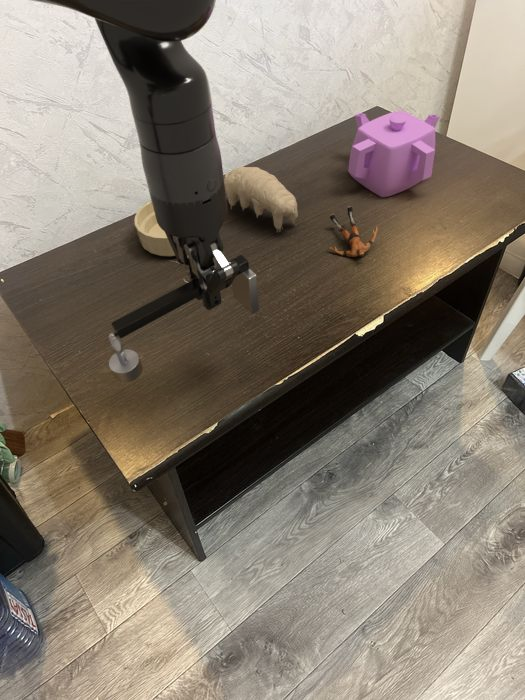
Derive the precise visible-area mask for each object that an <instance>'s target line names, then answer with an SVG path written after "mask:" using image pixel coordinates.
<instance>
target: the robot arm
mask: <svg viewBox="0 0 525 700" xmlns="http://www.w3.org/2000/svg"><path fill="white" fill-rule="evenodd" d="M30 1H31V2H38V3H42V4H48V5H53V6H57V7H61V8H66V9H69V10H73V11H75V12H78V13H80V14H83V15H85V16H87V17H91V18H92V19H94V21H95V24H96V25H97V28H98V31H99V33H100V35H101V38H102V40H103V41H104V44H105V47H106V49H107V51H108V53H109V55H110V58H111V60H112V62H113V64H114V67H115V69H116V71H117V72H118V75H119V76H120V78H121V81H122V82H123V85H124V87H125V89H126V92H127V96H128V99H129V100H128V101H129V105H130V110H131V115H132V119H133V123H134V126H135V130H136V134H137V139H138V142H139V148H140V157H141V164H142V165H141V166H142V170H143V173H144V176H145V181H146V184H147V189H148V193H149V197H150V201H152V205H153V208H154V212H155V216H156V220H157V223H158V225H159V226H160V228H161V229H162V230H163V231H165V234H166V236H167V238H168V240H169V242H170V245H171V247H172V249H173V251H174V253H175V256H174V257H175V258H176V261H177V263H178V264H179V265H180V266H183V265H184V271H185V274H186V275H187V277H189V278H190V281H192V280H194V279H195V278H197V277H198V280H199V284H200V289H201V294H202V295H200V296H198V297H197V298H196V300H197V301H200V300H202V305H203V307H204V308H205V309H206V310H207V311H211V310H212V309H215V308H216V307H218V306H219V305H221V304H222V296H221V295H222V294H221V292H222V291H223V290H225V289H228V288H229V287H231V286H232V282H233V280H234V279H235V277H236V275H237V274H238V272H239V266H238V264H237V263H236V262H235V261H233V262H228V260H227V258H226V257H225V254H223V253H224V252H223V251H224V243H223V240H222V238H221V235H220V230H221V228H222V227H223V225H224V223H225V221H226V220H227V217H228V212H229V211H228V203H227V193H226V192H225V184H224V179H225V175H224V168H223V160H222V152H221V147H220V144H219V140H218V137H217V132H216V126H215V125H216V123H215V116H214V109H213V102H212V101H213V100H212V93H211V86H210V82H209V77H208V75H207V73H206V71H205V69H204V68H203V66H202V65H201V64H200V63H199V62H198V61H197V60H196V59H195V58H194V57H193V56H192V55H191V54H190V52H188V50H187V49H186V47H185V46H184V43H183V42H182V41H185V40H187V39H189V38H191V37H193V36H195V35H196V34H198V33H199V32H200V31H201V30H202V29H203V28H204V27H205V25H206V24H207V23H208V21H210V18H211V17H212V14H213V12H214V10H215V6H216V1H217V0H30ZM210 273H211V274H212V275H211V276H210V277H208V278H206V276H207V275H208V274H210Z"/></svg>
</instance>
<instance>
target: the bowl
mask: <svg viewBox="0 0 525 700" xmlns="http://www.w3.org/2000/svg"><path fill="white" fill-rule="evenodd" d="M133 219H134V227H135V230H136V233H137V236H138V240H139V243H140V245H141V246H142V248H143V249H144V250H146V251H148V252H149V254H153V255H156V256H159V257H176V256H175V253H174V251H173V249H172V247H171V245H170V242H169V240H168V238H167V236H166V234H165V231H163V230H162V229H161V228H160V226H159V225H158V223H157V220H156V216H155V212H154V208H153V205H152V201H151V200H149V201H148V202H147V203H144V204H143V205H142V206H141V207H140V208H139V209H138V210H137V211H136V214H135V216H134V218H133Z"/></svg>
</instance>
